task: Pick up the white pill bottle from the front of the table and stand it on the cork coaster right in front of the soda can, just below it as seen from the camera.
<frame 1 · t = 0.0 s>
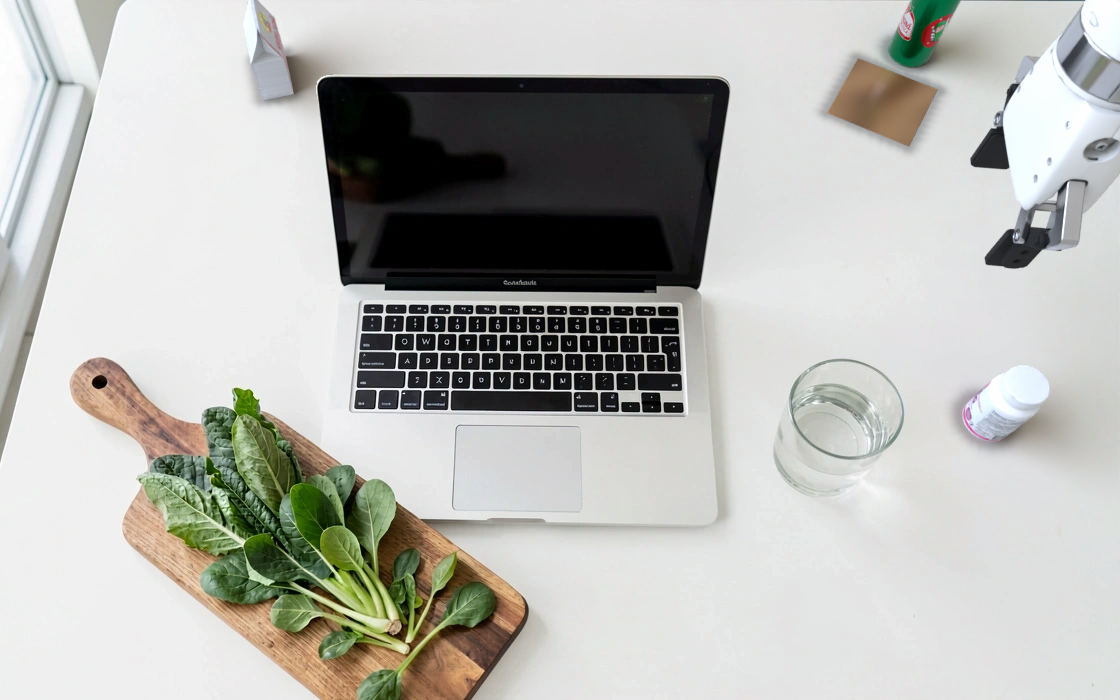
hand: (995, 212, 73), 22 cm above the table, tool pointing down, fingers open, 9 cm apart
pill bottle: (984, 421, 90), on the table
soda can: (906, 56, 111), on the table
milk carton: (275, 80, 109), on the table
coaster: (881, 103, 107), on the table
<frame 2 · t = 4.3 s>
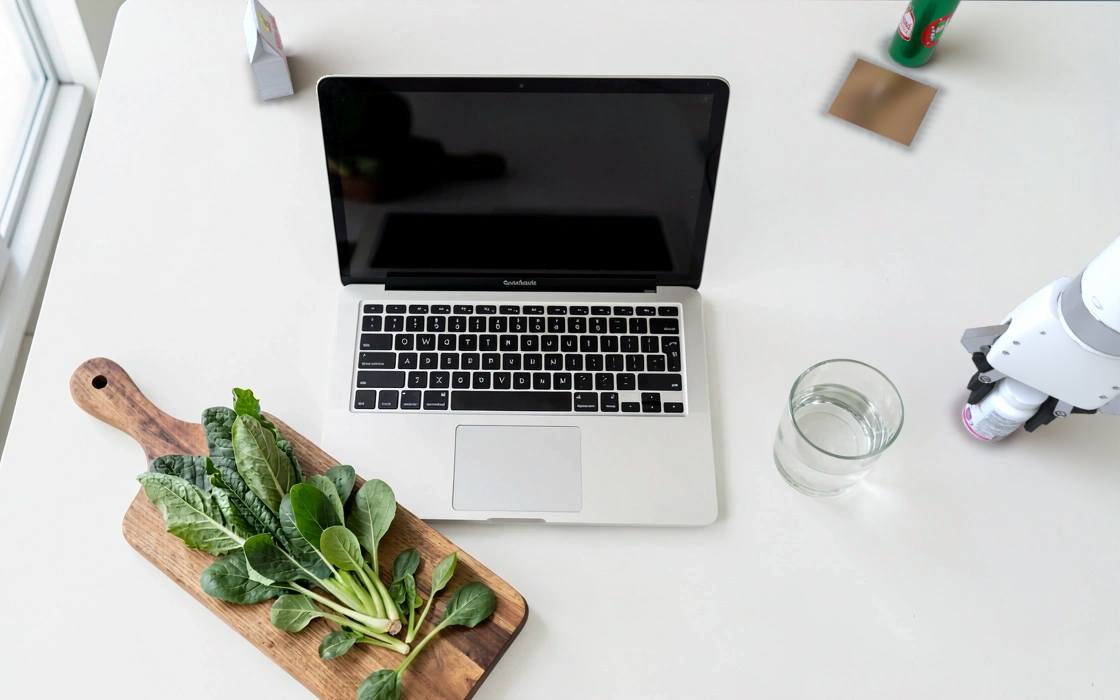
hand: (1003, 404, 86), 4 cm above the table, tool pointing down, fingers closed on pill bottle, 4 cm apart
pill bottle: (984, 421, 90), on the table, touching gripper
everything else where it was.
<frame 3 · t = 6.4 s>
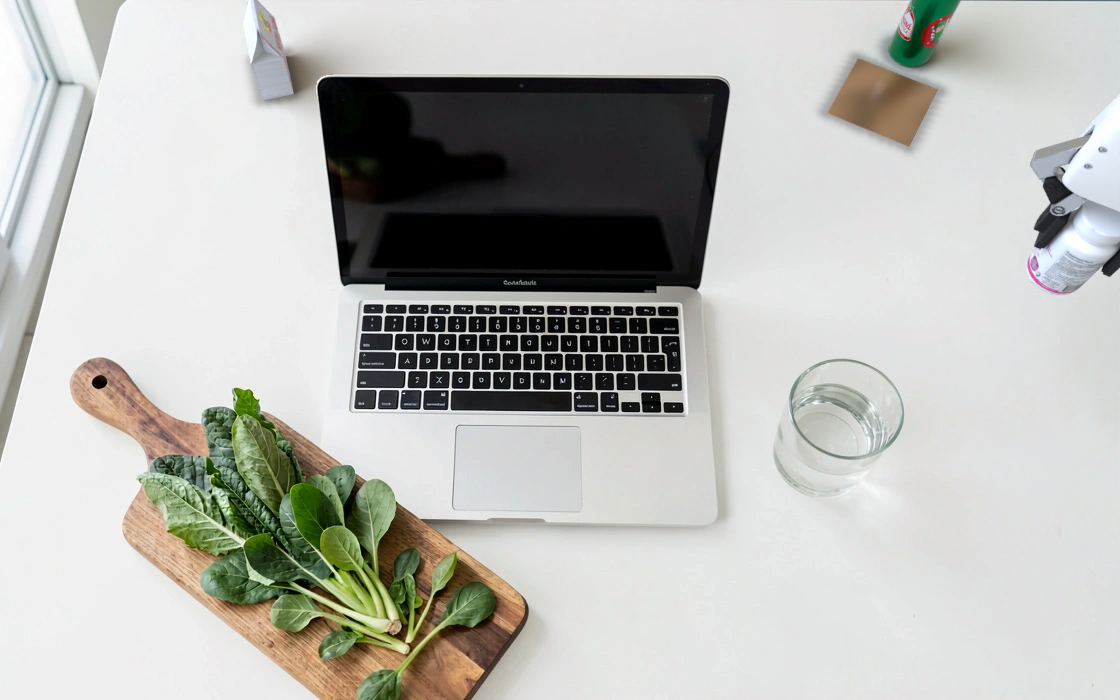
hand: (1076, 247, 74), 20 cm above the table, tool pointing down, fingers closed on pill bottle, 4 cm apart
pill bottle: (1051, 274, 78), point 16 cm above the table, touching gripper
everything else where it was.
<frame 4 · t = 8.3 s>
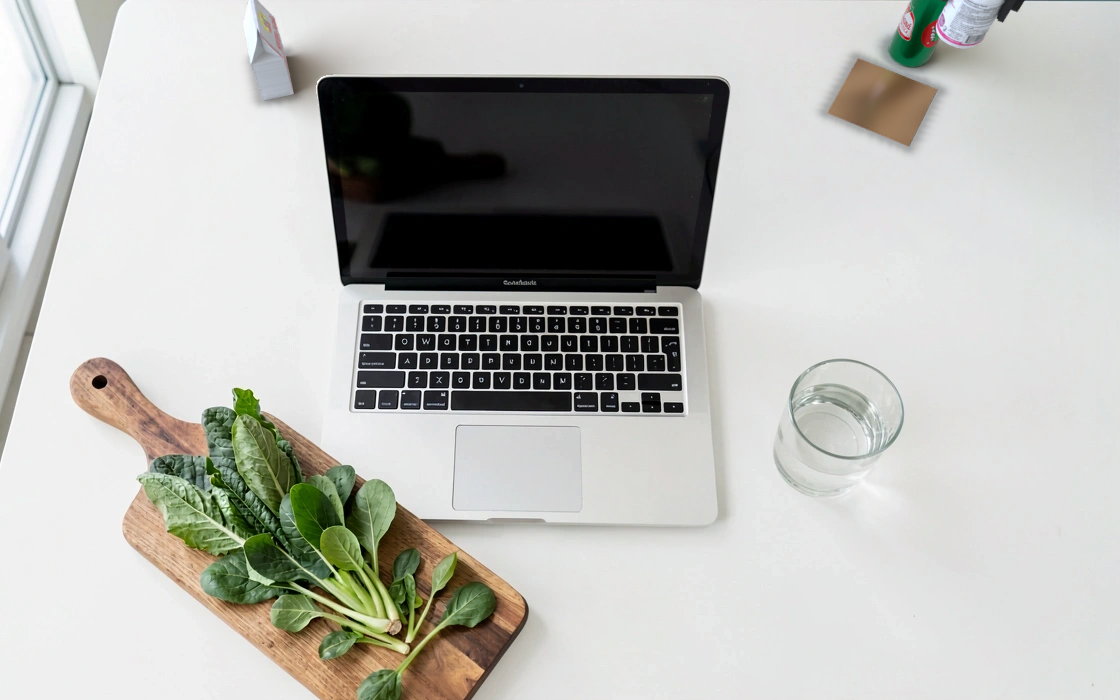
hand: (976, 0, 86), 20 cm above the table, tool pointing down, fingers closed on pill bottle, 4 cm apart
pill bottle: (957, 34, 90), point 16 cm above the table, touching gripper
everything else where it was.
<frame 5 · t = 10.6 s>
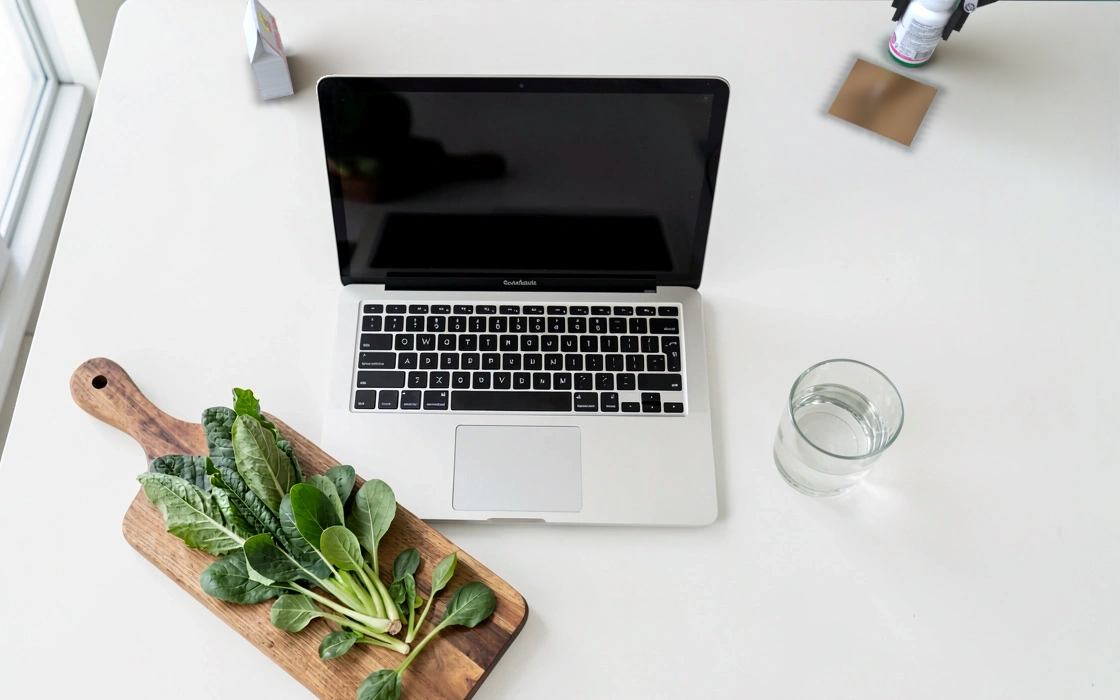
hand: (923, 21, 96), 12 cm above the table, tool pointing down, fingers closed on pill bottle, 4 cm apart
pill bottle: (908, 50, 100), point 8 cm above the table, touching gripper
everything else where it was.
when the fingers open (4 cm above the table, at t = 12.8 s): pill bottle stays where it is, resting on coaster.
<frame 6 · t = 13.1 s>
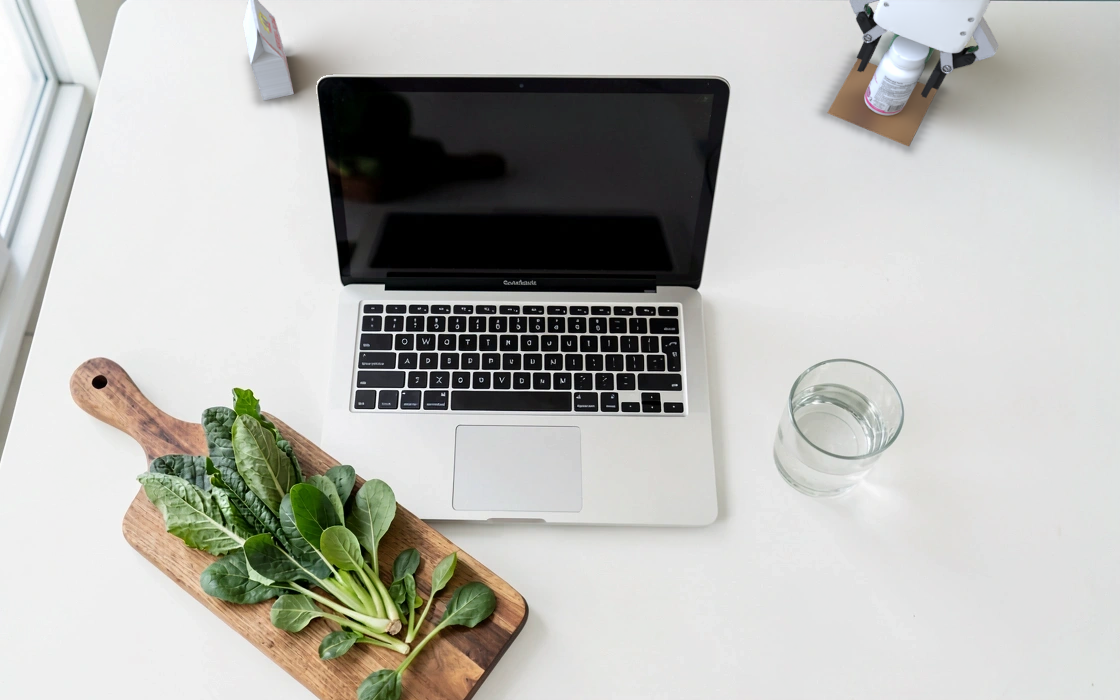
hand: (895, 75, 103), 4 cm above the table, tool pointing down, fingers open, 7 cm apart
pill bottle: (882, 102, 107), resting on coaster
everything else where it was.
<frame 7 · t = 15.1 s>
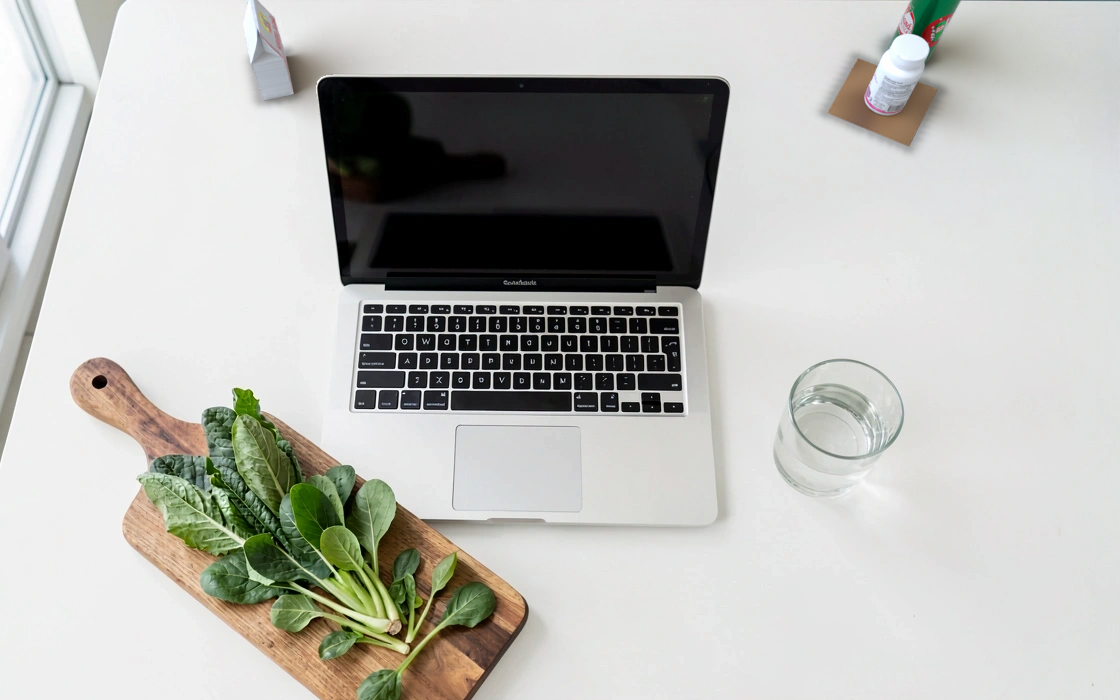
nothing on the table moved.
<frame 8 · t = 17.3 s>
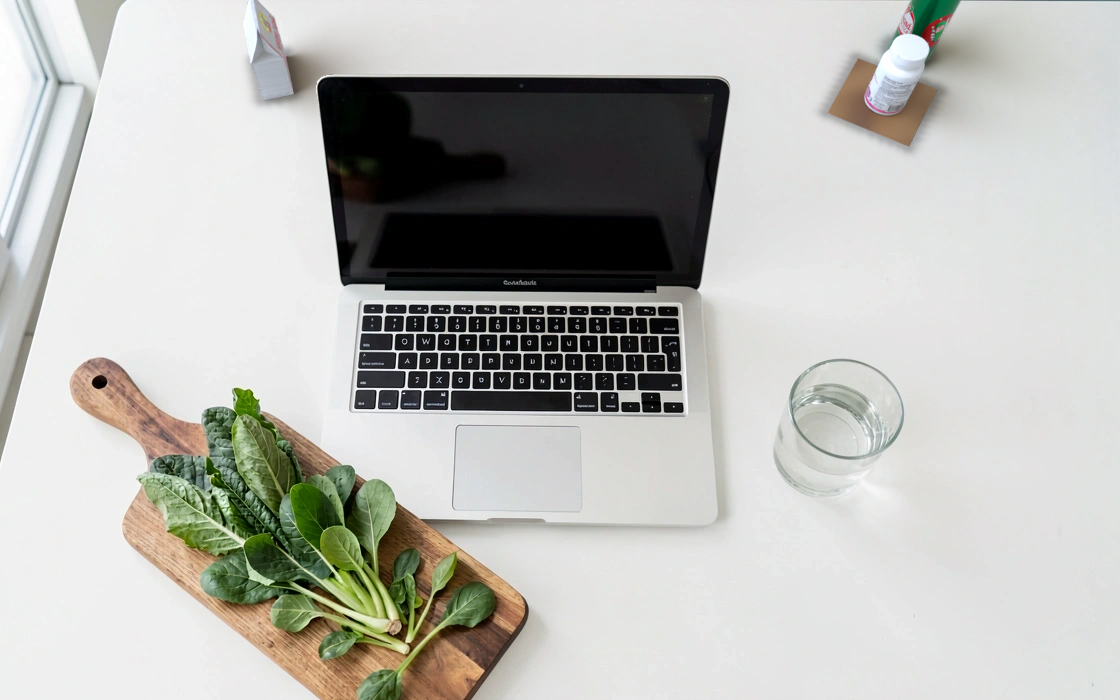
nothing on the table moved.
at the end: pill bottle inside the target area on the coaster (0.1 cm from its centre), point 0.2 cm above the coaster's base; pill bottle tilted 0°; pill bottle 9.0 cm from the soda can (horizontally) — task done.
